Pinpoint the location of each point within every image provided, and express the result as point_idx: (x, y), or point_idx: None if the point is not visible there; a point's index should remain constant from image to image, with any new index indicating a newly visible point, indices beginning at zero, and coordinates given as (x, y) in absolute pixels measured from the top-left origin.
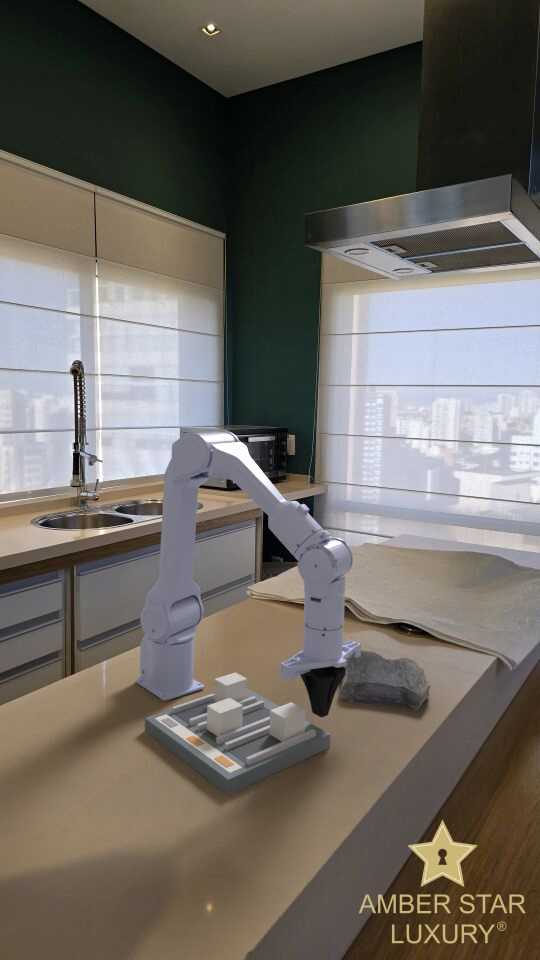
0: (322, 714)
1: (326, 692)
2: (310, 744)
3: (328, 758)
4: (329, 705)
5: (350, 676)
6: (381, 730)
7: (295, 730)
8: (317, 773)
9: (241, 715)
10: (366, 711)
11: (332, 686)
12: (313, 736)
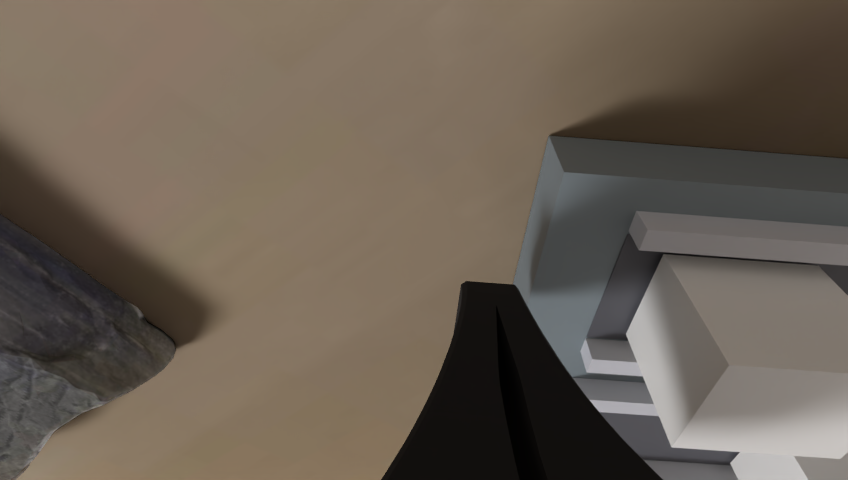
0: (520, 296)
1: (560, 418)
2: (725, 179)
3: (652, 71)
4: (476, 321)
5: (50, 414)
6: (171, 55)
7: (757, 289)
8: (844, 10)
9: (812, 478)
10: (123, 225)
11: (507, 447)
12: (654, 214)
